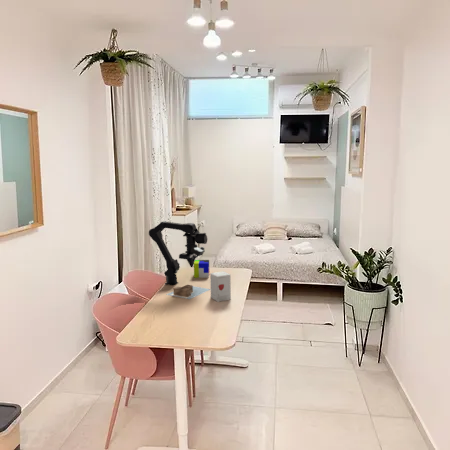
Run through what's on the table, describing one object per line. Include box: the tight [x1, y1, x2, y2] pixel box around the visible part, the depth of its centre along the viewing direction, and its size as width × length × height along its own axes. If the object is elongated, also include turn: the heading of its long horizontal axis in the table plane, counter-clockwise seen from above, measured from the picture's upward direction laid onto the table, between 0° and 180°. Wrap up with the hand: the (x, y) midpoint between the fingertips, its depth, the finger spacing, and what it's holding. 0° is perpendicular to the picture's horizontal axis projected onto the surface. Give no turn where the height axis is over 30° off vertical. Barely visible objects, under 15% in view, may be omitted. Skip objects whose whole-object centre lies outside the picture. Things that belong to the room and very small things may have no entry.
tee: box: [172, 284, 194, 297], centre depth 261 cm, size 10×10×4 cm
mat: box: [166, 285, 211, 300], centre depth 265 cm, size 18×22×1 cm
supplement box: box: [209, 271, 232, 303], centre depth 250 cm, size 9×9×15 cm
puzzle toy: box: [193, 259, 210, 279], centre depth 302 cm, size 10×10×10 cm
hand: (191, 267), depth 278 cm, fingers closed
